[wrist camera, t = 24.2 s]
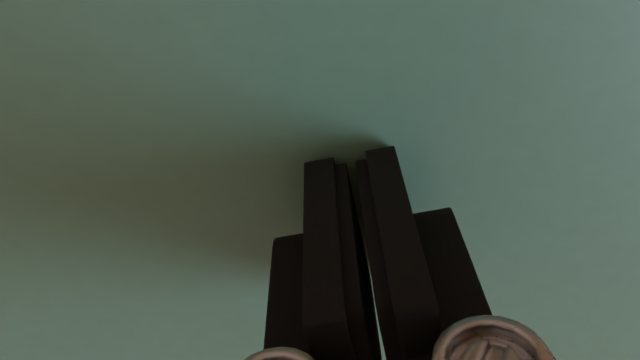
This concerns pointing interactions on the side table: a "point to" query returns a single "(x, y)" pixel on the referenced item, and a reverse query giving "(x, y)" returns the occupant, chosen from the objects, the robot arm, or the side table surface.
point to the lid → (308, 160)
